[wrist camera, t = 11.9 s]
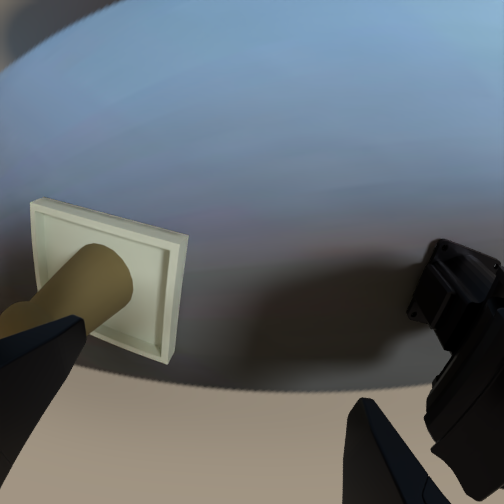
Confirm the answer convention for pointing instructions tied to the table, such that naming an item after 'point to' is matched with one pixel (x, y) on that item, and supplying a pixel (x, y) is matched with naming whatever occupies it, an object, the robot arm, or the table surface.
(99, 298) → the cork
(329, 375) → the table surface
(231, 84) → the table surface
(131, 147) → the table surface
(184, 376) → the table surface
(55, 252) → the tray
